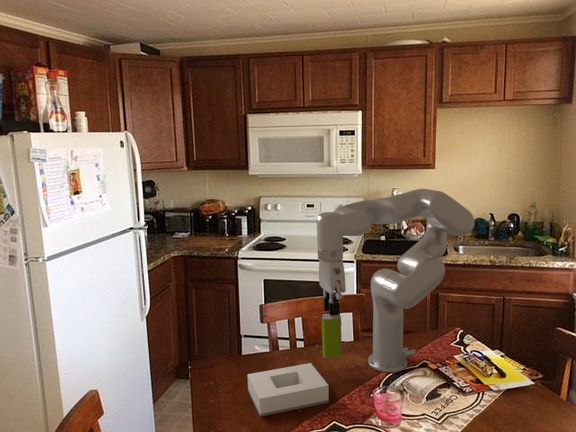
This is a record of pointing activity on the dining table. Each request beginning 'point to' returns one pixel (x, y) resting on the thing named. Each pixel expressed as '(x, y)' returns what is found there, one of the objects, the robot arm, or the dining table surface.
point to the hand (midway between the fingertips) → (331, 312)
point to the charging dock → (287, 389)
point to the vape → (331, 335)
